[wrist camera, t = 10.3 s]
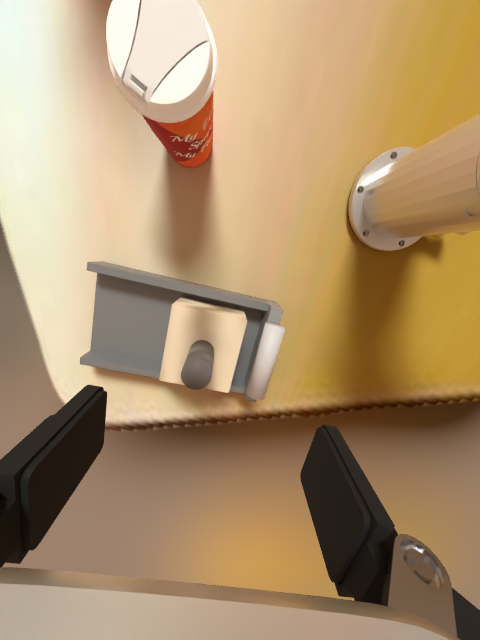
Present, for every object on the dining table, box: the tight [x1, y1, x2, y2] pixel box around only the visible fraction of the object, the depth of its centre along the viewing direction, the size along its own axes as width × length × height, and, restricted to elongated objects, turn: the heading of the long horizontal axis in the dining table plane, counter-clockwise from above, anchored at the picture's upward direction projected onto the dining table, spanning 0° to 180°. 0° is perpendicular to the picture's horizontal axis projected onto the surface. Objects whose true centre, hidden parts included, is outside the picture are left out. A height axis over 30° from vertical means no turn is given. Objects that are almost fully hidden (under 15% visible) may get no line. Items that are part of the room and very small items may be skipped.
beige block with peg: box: [159, 296, 247, 393], centre depth 29 cm, size 9×10×12 cm
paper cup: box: [106, 0, 218, 167], centre depth 22 cm, size 8×8×14 cm
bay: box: [80, 262, 285, 402], centre depth 31 cm, size 26×14×8 cm, turn 76°
